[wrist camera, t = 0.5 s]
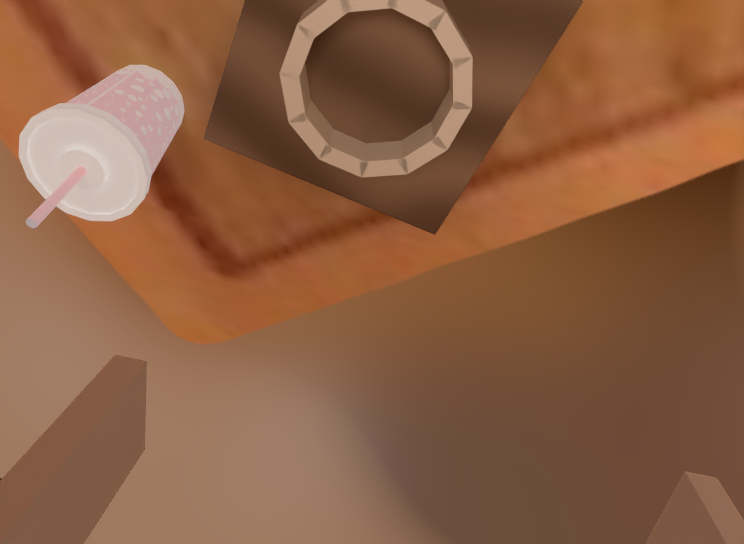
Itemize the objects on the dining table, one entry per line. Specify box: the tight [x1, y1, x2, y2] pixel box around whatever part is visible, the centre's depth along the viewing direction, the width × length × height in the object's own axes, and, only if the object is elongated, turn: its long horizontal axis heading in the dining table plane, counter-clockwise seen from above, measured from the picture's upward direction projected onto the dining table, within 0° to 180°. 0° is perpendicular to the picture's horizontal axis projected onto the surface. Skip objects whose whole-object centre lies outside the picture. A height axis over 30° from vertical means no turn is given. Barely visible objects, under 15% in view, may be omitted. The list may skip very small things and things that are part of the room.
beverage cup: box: [19, 65, 184, 228], centre depth 29 cm, size 6×6×14 cm
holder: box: [204, 0, 583, 234], centre depth 33 cm, size 16×16×2 cm
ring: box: [279, 0, 473, 178], centre depth 31 cm, size 10×10×2 cm
